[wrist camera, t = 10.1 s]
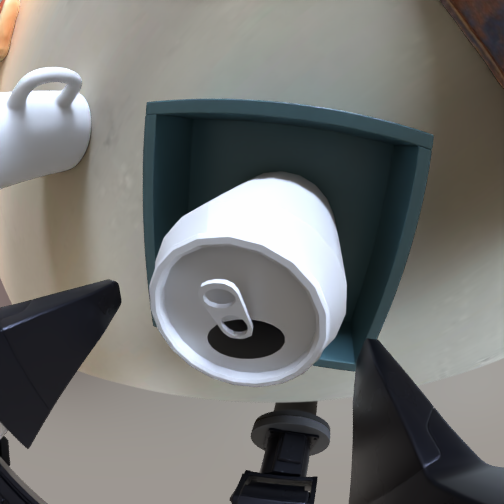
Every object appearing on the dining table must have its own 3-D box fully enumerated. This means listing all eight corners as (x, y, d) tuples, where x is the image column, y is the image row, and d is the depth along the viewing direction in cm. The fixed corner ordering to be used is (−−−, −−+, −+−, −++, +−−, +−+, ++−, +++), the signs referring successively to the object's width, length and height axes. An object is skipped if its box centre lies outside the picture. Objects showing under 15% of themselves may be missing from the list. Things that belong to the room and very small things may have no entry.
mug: (62, 185, 23) (-20, 215, 13) (39, 129, 21) (-37, 144, 12) (128, 108, 19) (19, 108, 9) (97, 50, 17) (6, 37, 7)
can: (247, 278, 21) (182, 398, 11) (216, 186, 19) (100, 245, 8) (343, 260, 19) (358, 393, 8) (319, 158, 17) (324, 180, 6)
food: (12, 10, 14) (-8, 8, 10) (28, -7, 13) (7, -10, 8) (-2, 70, 19) (-24, 72, 15) (12, 55, 18) (-12, 55, 14)
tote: (355, 326, 21) (361, 372, 17) (183, 291, 24) (152, 326, 19) (403, 136, 15) (434, 135, 10) (187, 109, 18) (146, 102, 13)
